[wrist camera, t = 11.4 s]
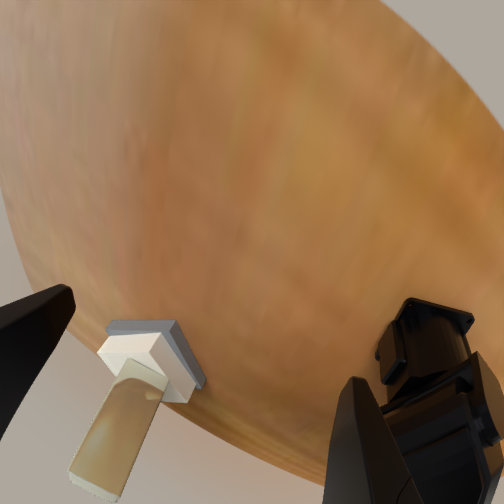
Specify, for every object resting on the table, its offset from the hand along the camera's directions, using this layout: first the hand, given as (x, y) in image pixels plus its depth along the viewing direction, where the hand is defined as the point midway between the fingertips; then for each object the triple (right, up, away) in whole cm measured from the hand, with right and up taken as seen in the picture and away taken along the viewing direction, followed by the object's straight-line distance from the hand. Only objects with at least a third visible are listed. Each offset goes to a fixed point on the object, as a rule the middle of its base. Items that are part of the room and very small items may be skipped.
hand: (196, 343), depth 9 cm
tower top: (-8, -8, +21) cm, 24 cm away
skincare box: (-9, -9, +19) cm, 23 cm away
